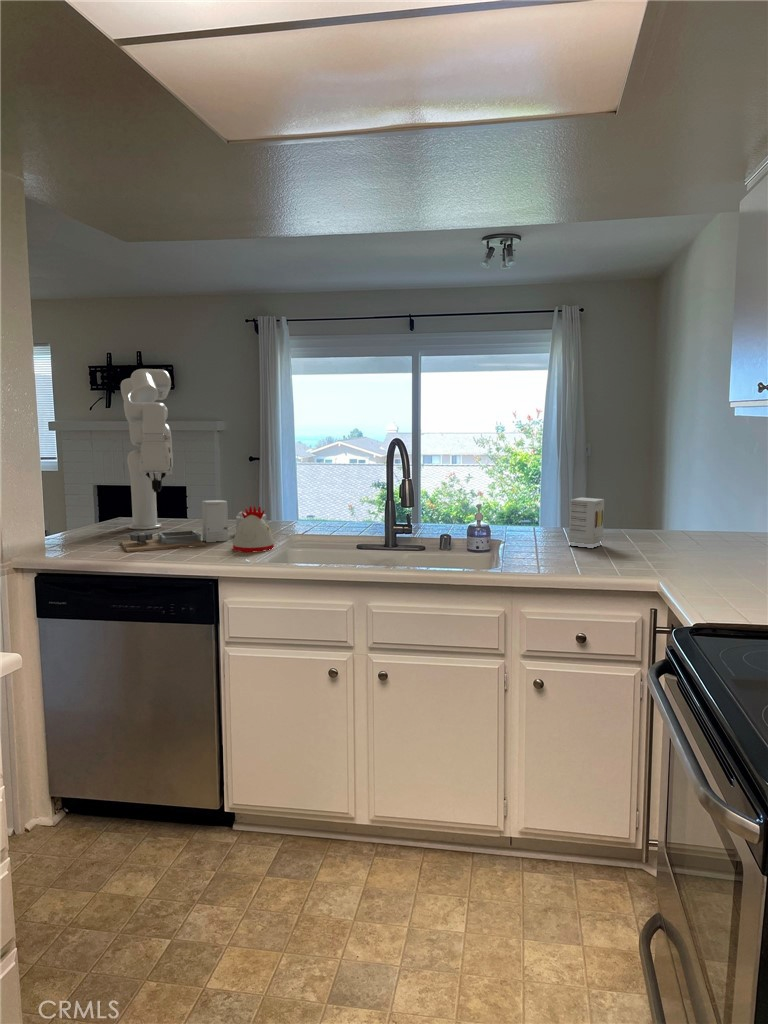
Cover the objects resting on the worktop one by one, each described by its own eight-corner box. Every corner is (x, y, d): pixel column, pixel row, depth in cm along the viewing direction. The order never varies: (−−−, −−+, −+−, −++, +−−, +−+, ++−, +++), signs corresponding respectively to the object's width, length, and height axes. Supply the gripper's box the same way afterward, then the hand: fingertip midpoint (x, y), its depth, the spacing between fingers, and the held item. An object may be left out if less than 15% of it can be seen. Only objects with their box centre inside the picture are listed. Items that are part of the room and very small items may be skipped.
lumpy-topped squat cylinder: (269, 532, 283) (269, 510, 282) (255, 537, 270) (255, 515, 269) (245, 531, 285) (244, 509, 284) (230, 536, 273) (229, 514, 271)
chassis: (120, 543, 258) (120, 531, 257) (194, 537, 269) (193, 526, 269) (126, 552, 242) (126, 539, 241) (204, 546, 253) (204, 533, 253)
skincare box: (206, 542, 259) (204, 502, 257) (202, 540, 265) (200, 500, 262) (229, 541, 263) (227, 500, 261) (224, 538, 268) (223, 499, 266)
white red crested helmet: (265, 553, 241) (264, 509, 239) (226, 551, 244) (225, 508, 242) (279, 545, 255) (278, 503, 253) (242, 544, 257) (241, 502, 255)
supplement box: (592, 549, 248) (595, 501, 246) (567, 546, 254) (569, 499, 251) (602, 545, 256) (605, 498, 253) (578, 542, 261) (580, 496, 259)
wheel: (129, 538, 254) (129, 532, 253) (150, 536, 257) (150, 531, 257) (131, 541, 247) (131, 536, 247) (153, 540, 251) (153, 534, 250)
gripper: (179, 438, 252) (181, 490, 255) (135, 438, 251) (138, 490, 254) (174, 439, 245) (176, 492, 247) (129, 439, 244) (132, 492, 246)
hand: (157, 491), depth 251 cm, fingers closed
